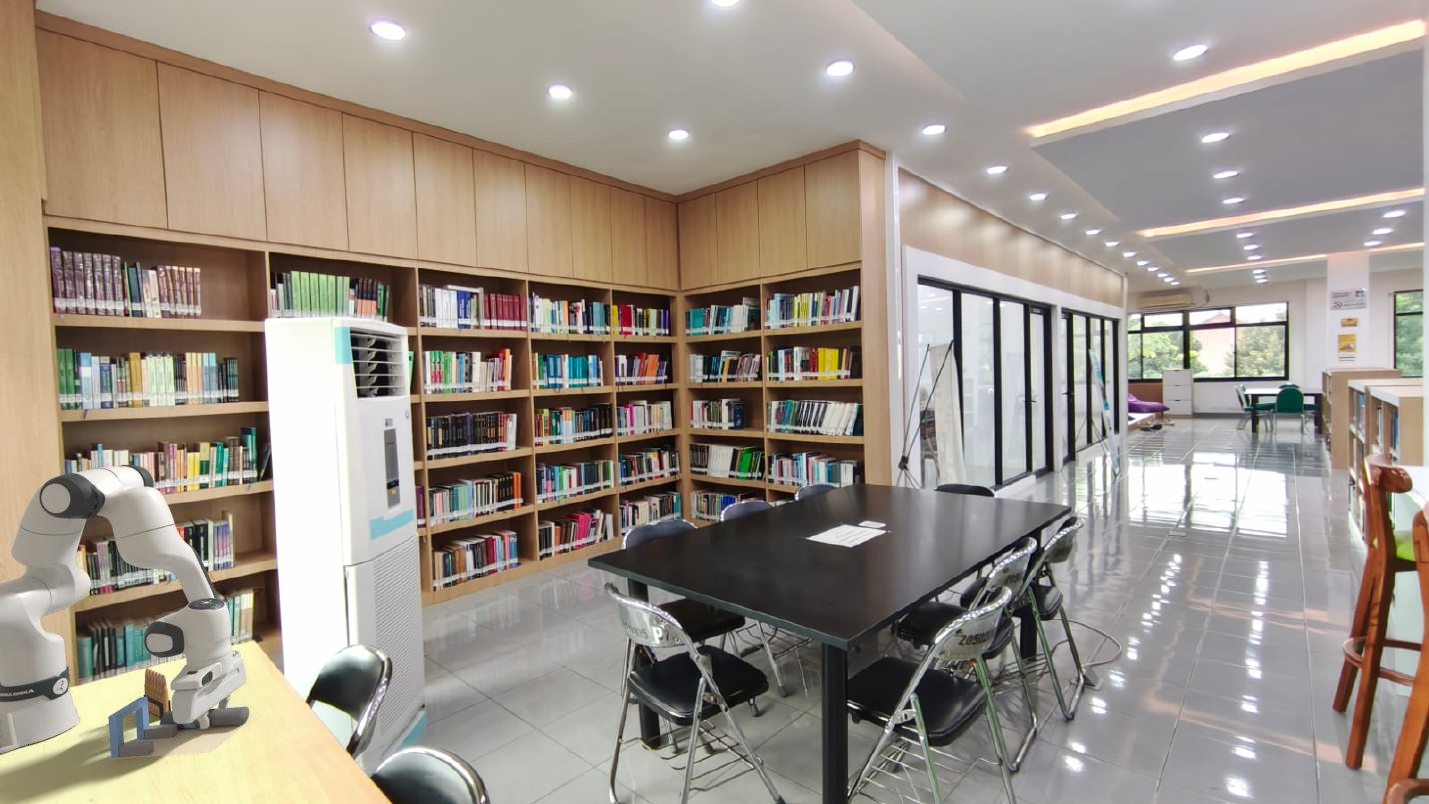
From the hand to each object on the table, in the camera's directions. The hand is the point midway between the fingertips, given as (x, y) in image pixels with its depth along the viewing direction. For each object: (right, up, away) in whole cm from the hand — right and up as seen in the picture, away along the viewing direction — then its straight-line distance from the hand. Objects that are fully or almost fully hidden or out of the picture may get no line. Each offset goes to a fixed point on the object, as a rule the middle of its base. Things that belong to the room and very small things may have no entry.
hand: (214, 721), depth 154 cm
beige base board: (-3, -2, -4) cm, 5 cm away
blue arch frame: (-13, -3, -8) cm, 15 cm away
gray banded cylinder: (-2, -1, 0) cm, 2 cm away
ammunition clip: (-20, -3, +7) cm, 21 cm away
